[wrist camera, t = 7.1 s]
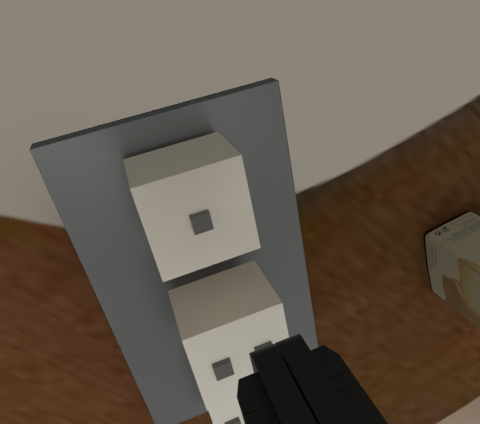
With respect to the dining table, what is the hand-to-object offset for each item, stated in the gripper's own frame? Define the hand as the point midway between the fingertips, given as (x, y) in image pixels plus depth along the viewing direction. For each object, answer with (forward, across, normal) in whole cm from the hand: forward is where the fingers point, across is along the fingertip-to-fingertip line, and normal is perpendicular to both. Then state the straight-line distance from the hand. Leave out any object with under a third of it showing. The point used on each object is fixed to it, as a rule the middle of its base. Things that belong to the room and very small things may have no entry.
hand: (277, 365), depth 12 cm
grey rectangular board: (+15, 0, +7) cm, 16 cm away
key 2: (+11, 0, +7) cm, 13 cm away
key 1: (+13, 0, 0) cm, 13 cm away
